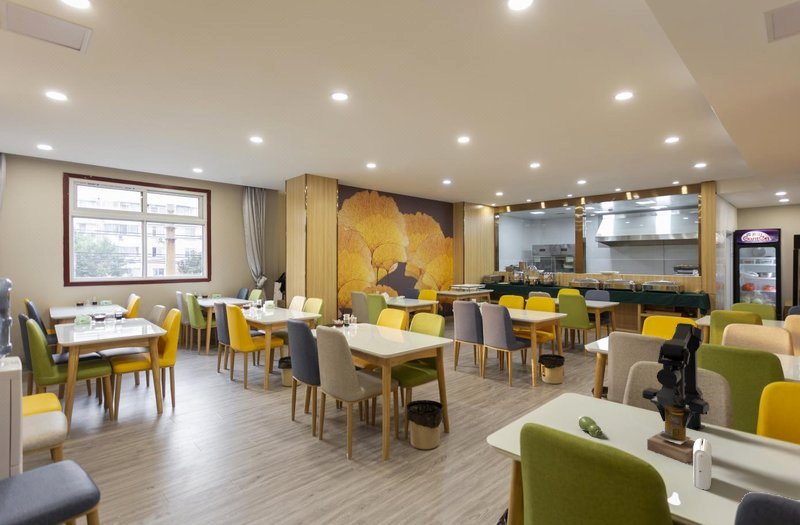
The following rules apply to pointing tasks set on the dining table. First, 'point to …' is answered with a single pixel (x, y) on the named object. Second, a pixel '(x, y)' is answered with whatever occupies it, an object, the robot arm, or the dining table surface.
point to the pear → (590, 426)
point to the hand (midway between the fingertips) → (674, 424)
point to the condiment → (674, 425)
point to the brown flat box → (671, 448)
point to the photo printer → (702, 464)
